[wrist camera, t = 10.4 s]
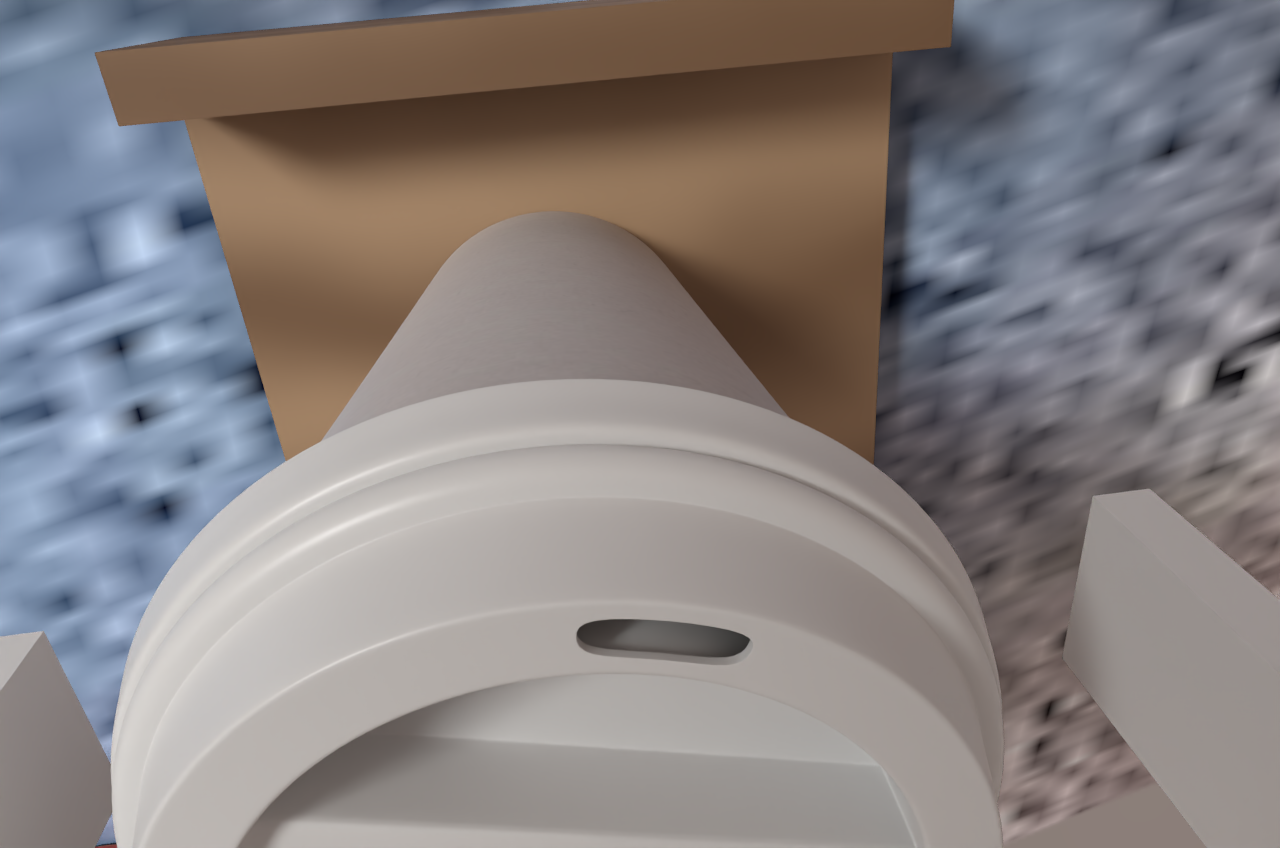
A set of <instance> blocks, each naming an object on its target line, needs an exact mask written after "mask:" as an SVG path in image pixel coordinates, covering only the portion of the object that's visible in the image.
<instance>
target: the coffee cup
mask: <svg viewBox="0 0 1280 848" xmlns="http://www.w3.org/2000/svg"><path fill="white" fill-rule="evenodd" d="M1003 763H1004V727H1003V718H1002V698H1001V689H1000V681H999V676H998V670H997V665H996V661H995V657H994V653H993V649H992V645H991V642H990V639H989V635H988V631H987V627H986V624H985V620H984V617H983V613H982V610H981V607H980V604H979V601H978V598H977V595H976V593H975V590H974V588H973V586H972V583H971V581H970V579H969V577H968V575H967V573H966V571H965V569H964V567H963V565H962V563H961V561H960V560H959V558H958V556H957V554H956V553H955V551H954V549H953V548H952V546H951V545H950V543H949V542H948V540H947V539H946V537H945V536H944V535H943V533H942V532H941V531H940V529H939V528H938V527H937V525H936V524H935V523H934V522H933V521H932V519H931V518H930V517H929V516H928V515H927V513H926V512H925V511H924V510H923V509H922V508H921V507H920V506H919V505H918V504H917V503H916V501H915V500H914V499H913V498H912V497H910V496H909V495H908V494H907V493H906V492H905V491H904V490H903V489H902V488H901V487H900V486H899V485H898V484H896V483H895V482H894V481H893V480H892V479H891V478H889V477H888V476H887V475H886V474H884V473H883V472H882V471H881V470H879V469H878V468H877V467H875V466H874V465H873V464H871V463H870V462H868V461H867V460H866V459H864V458H863V457H861V456H860V455H858V454H857V453H855V452H854V451H852V450H850V449H849V448H847V447H846V446H844V445H842V444H841V443H839V442H837V441H835V440H834V439H832V438H830V437H828V436H826V435H825V434H823V433H821V432H819V431H817V430H815V429H813V428H811V427H809V426H806V425H804V424H802V423H800V422H797V421H795V420H793V419H791V418H789V417H788V416H787V414H786V413H785V412H784V411H783V409H782V408H781V407H780V406H779V405H778V403H777V402H776V401H775V400H774V398H773V397H772V396H771V395H770V394H769V392H768V391H767V390H766V389H765V387H764V386H763V385H762V384H761V383H760V381H759V380H758V379H757V378H756V376H755V375H754V374H753V373H752V372H751V370H750V369H749V368H748V367H747V365H746V364H745V363H744V362H743V360H742V359H741V358H740V357H739V356H738V354H737V353H736V352H735V351H734V349H733V348H732V347H731V346H730V344H729V343H728V342H727V341H726V340H725V338H724V337H723V336H722V335H721V333H720V332H719V331H718V330H717V328H716V327H715V326H714V325H713V323H712V322H711V321H710V320H709V319H708V317H707V316H706V315H705V314H704V312H703V311H702V310H701V309H700V307H699V306H698V305H697V304H696V302H695V301H694V300H693V299H692V297H691V296H690V295H689V294H688V292H687V291H686V290H685V289H684V287H683V286H682V285H681V284H680V282H679V281H678V280H677V279H676V278H675V276H674V275H673V274H672V273H671V271H670V270H669V269H668V268H667V266H666V265H665V264H664V263H663V262H662V260H661V259H660V258H659V257H658V256H657V255H656V254H655V253H654V252H653V251H652V250H651V249H650V248H649V247H648V246H647V245H646V244H644V243H643V242H642V241H641V240H639V239H638V238H637V237H635V236H634V235H632V234H631V233H629V232H628V231H626V230H624V229H622V228H620V227H618V226H616V225H614V224H612V223H610V222H607V221H605V220H602V219H599V218H596V217H593V216H589V215H585V214H580V213H573V212H563V211H545V212H535V213H528V214H523V215H519V216H515V217H512V218H509V219H506V220H503V221H500V222H498V223H496V224H493V225H491V226H489V227H487V228H485V229H484V230H482V231H480V232H479V233H477V234H476V235H474V236H473V237H471V238H470V239H468V240H467V241H466V242H465V243H463V244H462V245H461V246H460V247H459V248H458V249H457V250H456V251H455V252H454V253H453V254H452V255H451V256H450V257H449V258H448V259H447V260H446V262H445V263H444V264H443V266H442V267H441V268H440V270H439V271H438V272H437V274H436V275H435V277H434V278H433V280H432V281H431V283H430V284H429V285H428V287H427V288H426V290H425V291H424V293H423V294H422V296H421V297H420V299H419V300H418V302H417V303H416V304H415V306H414V307H413V309H412V310H411V312H410V313H409V315H408V316H407V318H406V319H405V321H404V322H403V323H402V325H401V326H400V328H399V329H398V331H397V332H396V334H395V335H394V337H393V338H392V340H391V341H390V342H389V344H388V345H387V347H386V348H385V350H384V351H383V353H382V354H381V356H380V357H379V358H378V360H377V361H376V363H375V364H374V366H373V367H372V369H371V370H370V371H369V373H368V374H367V376H366V377H365V379H364V380H363V382H362V383H361V385H360V386H359V387H358V389H357V390H356V392H355V393H354V395H353V396H352V398H351V399H350V400H349V402H348V403H347V405H346V406H345V408H344V409H343V411H342V412H341V413H340V415H339V416H338V418H337V419H336V421H335V422H334V423H333V425H332V426H331V428H330V429H329V431H328V432H327V433H326V435H325V436H324V438H323V439H322V441H321V442H319V443H317V444H315V445H313V446H312V447H310V448H308V449H306V450H304V451H302V452H301V453H299V454H297V455H296V456H294V457H292V458H291V459H289V460H288V461H286V462H284V463H283V464H281V465H280V466H278V467H277V468H275V469H274V470H272V471H271V472H269V473H268V474H266V475H265V476H264V477H262V478H261V479H259V480H258V481H257V482H255V483H254V484H253V485H251V486H250V487H249V488H247V489H246V490H245V491H244V492H242V493H241V494H240V495H239V496H238V497H236V498H235V499H234V500H233V501H232V502H230V503H229V504H228V505H227V506H226V507H225V508H224V509H223V510H222V511H220V512H219V513H218V514H217V515H216V516H215V517H214V518H213V519H212V520H211V521H210V522H209V523H208V524H207V525H206V526H205V527H204V528H203V529H202V530H201V532H200V533H199V534H198V535H197V536H196V537H195V538H194V539H193V540H192V541H191V543H190V544H189V545H188V546H187V548H186V549H185V550H184V551H183V552H182V554H181V555H180V556H179V558H178V559H177V560H176V562H175V563H174V564H173V566H172V567H171V569H170V570H169V571H168V573H167V574H166V576H165V577H164V579H163V581H162V582H161V584H160V585H159V587H158V589H157V590H156V592H155V594H154V596H153V597H152V599H151V601H150V603H149V605H148V607H147V609H146V611H145V613H144V615H143V617H142V619H141V622H140V624H139V626H138V629H137V631H136V634H135V636H134V639H133V642H132V645H131V648H130V651H129V655H128V658H127V662H126V665H125V670H124V674H123V679H122V684H121V689H120V694H119V700H118V705H117V710H116V715H115V722H114V728H113V736H112V747H111V784H112V815H113V825H114V833H115V838H116V844H117V848H1003V836H1002V827H1001V820H1000V814H999V809H998V804H997V802H998V798H999V793H1000V787H1001V781H1002V773H1003Z"/></svg>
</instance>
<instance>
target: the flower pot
mask: <svg viewBox="0 0 1280 848" xmlns="http://www.w3.org/2000/svg"><path fill="white" fill-rule="evenodd" d="M95 848H117V844H112V845H104V846H97V847H95Z"/></svg>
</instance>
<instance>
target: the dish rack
mask: <svg viewBox="0 0 1280 848" xmlns="http://www.w3.org/2000/svg"><path fill="white" fill-rule="evenodd" d="M953 10H954V0H588V1H577V2H566V3H555V4H544V5H533V6H522V7H511V8H499V9H488V10H477V11H466V12H455V13H444V14H433V15H422V16H411V17H400V18H389V19H378V20H367V21H356V22H345V23H334V24H323V25H312V26H301V27H290V28H278V29H267V30H256V31H245V32H234V33H223V34H212V35H201V36H190V37H181V38H175V39H169V40H164V41H158V42H152V43H146V44H141V45H135V46H129V47H124V48H118V49H112V50H107V51H101V52H95V56H96V59H97V62H98V65H99V68H100V71H101V74H102V77H103V80H104V83H105V86H106V89H107V92H108V95H109V98H110V101H111V104H112V107H113V110H114V113H115V116H116V119H117V122H118V125H119V126H127V125H137V124H148V123H158V122H169V121H179V120H185V124H186V127H187V130H188V134H189V137H190V140H191V144H192V147H193V150H194V154H195V157H196V161H197V164H198V167H199V171H200V174H201V177H202V181H203V184H204V187H205V191H206V194H207V197H208V201H209V204H210V208H211V211H212V214H213V218H214V221H215V224H216V228H217V231H218V234H219V238H220V241H221V245H222V248H223V251H224V255H225V258H226V261H227V265H228V268H229V271H230V275H231V278H232V281H233V285H234V288H235V292H236V295H237V298H238V302H239V305H240V308H241V312H242V315H243V318H244V322H245V325H246V329H247V332H248V335H249V339H250V342H251V345H252V349H253V352H254V355H255V359H256V362H257V365H258V369H259V372H260V376H261V379H262V382H263V386H264V389H265V392H266V396H267V399H268V402H269V406H270V409H271V412H272V416H273V419H274V423H275V426H276V429H277V433H278V436H279V439H280V443H281V446H282V449H283V453H284V456H285V460H286V461H288V460H289V459H291V458H292V457H294V456H296V455H297V454H299V453H301V452H302V451H304V450H306V449H308V448H310V447H312V446H313V445H315V444H317V443H319V442H321V441H322V439H323V438H324V436H325V435H326V433H327V432H328V431H329V429H330V428H331V426H332V425H333V423H334V422H335V421H336V419H337V418H338V416H339V415H340V413H341V412H342V411H343V409H344V408H345V406H346V405H347V403H348V402H349V400H350V399H351V398H352V396H353V395H354V393H355V392H356V390H357V389H358V387H359V386H360V385H361V383H362V382H363V380H364V379H365V377H366V376H367V374H368V373H369V371H370V370H371V369H372V367H373V366H374V364H375V363H376V361H377V360H378V358H379V357H380V356H381V354H382V353H383V351H384V350H385V348H386V347H387V345H388V344H389V342H390V341H391V340H392V338H393V337H394V335H395V334H396V332H397V331H398V329H399V328H400V326H401V325H402V323H403V322H404V321H405V319H406V318H407V316H408V315H409V313H410V312H411V310H412V309H413V307H414V306H415V304H416V303H417V302H418V300H419V299H420V297H421V296H422V294H423V293H424V291H425V290H426V288H427V287H428V285H429V284H430V283H431V281H432V280H433V278H434V277H435V275H436V274H437V272H438V271H439V270H440V268H441V267H442V266H443V264H444V263H445V262H446V260H447V259H448V258H449V257H450V256H451V255H452V254H453V253H454V252H455V251H456V250H457V249H458V248H459V247H460V246H461V245H462V244H463V243H465V242H466V241H467V240H468V239H470V238H471V237H473V236H474V235H476V234H477V233H479V232H480V231H482V230H484V229H485V228H487V227H489V226H491V225H493V224H496V223H498V222H500V221H503V220H506V219H509V218H512V217H515V216H519V215H523V214H528V213H535V212H545V211H563V212H573V213H580V214H585V215H589V216H593V217H596V218H599V219H602V220H605V221H607V222H610V223H612V224H614V225H616V226H618V227H620V228H622V229H624V230H626V231H628V232H629V233H631V234H632V235H634V236H635V237H637V238H638V239H639V240H641V241H642V242H643V243H644V244H646V245H647V246H648V247H649V248H650V249H651V250H652V251H653V252H654V253H655V254H656V255H657V256H658V257H659V258H660V259H661V260H662V262H663V263H664V264H665V265H666V266H667V268H668V269H669V270H670V271H671V273H672V274H673V275H674V276H675V278H676V279H677V280H678V281H679V282H680V284H681V285H682V286H683V287H684V289H685V290H686V291H687V292H688V294H689V295H690V296H691V297H692V299H693V300H694V301H695V302H696V304H697V305H698V306H699V307H700V309H701V310H702V311H703V312H704V314H705V315H706V316H707V317H708V319H709V320H710V321H711V322H712V323H713V325H714V326H715V327H716V328H717V330H718V331H719V332H720V333H721V335H722V336H723V337H724V338H725V340H726V341H727V342H728V343H729V344H730V346H731V347H732V348H733V349H734V351H735V352H736V353H737V354H738V356H739V357H740V358H741V359H742V360H743V362H744V363H745V364H746V365H747V367H748V368H749V369H750V370H751V372H752V373H753V374H754V375H755V376H756V378H757V379H758V380H759V381H760V383H761V384H762V385H763V386H764V387H765V389H766V390H767V391H768V392H769V394H770V395H771V396H772V397H773V398H774V400H775V401H776V402H777V403H778V405H779V406H780V407H781V408H782V409H783V411H784V412H785V413H786V414H787V416H788V417H789V418H791V419H793V420H795V421H797V422H800V423H802V424H804V425H806V426H809V427H811V428H813V429H815V430H817V431H819V432H821V433H823V434H825V435H826V436H828V437H830V438H832V439H834V440H835V441H837V442H839V443H841V444H842V445H844V446H846V447H847V448H849V449H850V450H852V451H854V452H855V453H857V454H858V455H860V456H861V457H863V458H864V459H866V460H867V461H868V462H870V463H871V464H873V465H874V445H875V424H876V402H877V380H878V359H879V337H880V315H881V294H882V272H883V251H884V229H885V207H886V186H887V164H888V142H889V121H890V99H891V78H892V56H893V52H902V51H912V50H923V49H933V48H944V47H951V37H952V24H953Z"/></svg>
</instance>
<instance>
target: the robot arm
mask: <svg viewBox="0 0 1280 848" xmlns="http://www.w3.org/2000/svg"><path fill="white" fill-rule="evenodd" d="M1062 659H1063V660H1064V661H1065V662H1066V664H1067V665H1068V666H1069V668H1070V669H1071V670H1072V672H1073V673H1074V674H1075V676H1076V677H1077V678H1078V680H1079V681H1080V682H1081V683H1082V685H1083V686H1084V687H1085V689H1086V690H1087V691H1088V693H1089V694H1090V695H1091V697H1092V698H1093V699H1094V701H1095V702H1096V703H1097V705H1098V706H1099V707H1100V708H1101V710H1102V711H1103V712H1104V714H1105V715H1106V716H1107V718H1108V719H1109V720H1110V722H1111V723H1112V724H1113V726H1114V727H1115V728H1116V729H1117V731H1118V732H1119V733H1120V735H1121V736H1122V737H1123V739H1124V740H1125V741H1126V743H1127V744H1128V745H1129V747H1130V748H1131V749H1132V750H1133V752H1134V753H1135V754H1136V756H1137V757H1138V758H1139V760H1140V761H1141V762H1142V764H1143V765H1144V766H1145V768H1146V769H1147V770H1148V772H1149V773H1150V774H1151V775H1152V777H1153V778H1154V779H1155V781H1156V782H1157V783H1158V785H1159V786H1160V787H1161V789H1162V790H1163V791H1164V793H1165V794H1166V795H1167V796H1168V798H1169V799H1170V800H1171V802H1172V803H1173V804H1174V806H1175V807H1176V808H1177V810H1178V811H1179V812H1180V813H1181V815H1182V816H1183V817H1184V819H1185V820H1186V821H1187V823H1188V824H1189V825H1190V827H1191V828H1192V829H1193V830H1194V832H1195V833H1196V835H1197V836H1198V837H1199V838H1200V840H1201V841H1202V842H1203V844H1204V845H1205V846H1206V848H1280V600H1279V599H1278V598H1277V597H1276V596H1274V595H1273V594H1272V593H1271V592H1270V591H1269V590H1267V589H1266V588H1265V587H1264V586H1263V585H1262V584H1260V583H1259V582H1258V581H1257V580H1256V579H1255V578H1253V577H1252V576H1251V575H1250V574H1249V573H1248V572H1246V571H1245V570H1244V569H1243V568H1242V567H1241V566H1239V565H1238V564H1237V563H1236V562H1235V561H1234V560H1232V559H1231V558H1230V557H1229V556H1228V555H1227V554H1225V553H1224V552H1223V551H1222V550H1221V549H1220V548H1218V547H1217V546H1216V545H1215V544H1214V543H1213V542H1211V541H1210V540H1209V539H1208V538H1207V537H1206V536H1204V535H1203V534H1202V533H1201V532H1200V531H1199V530H1197V529H1196V528H1195V527H1194V526H1193V525H1191V524H1190V523H1189V522H1188V521H1187V520H1186V519H1184V518H1183V517H1182V516H1181V515H1180V514H1179V513H1177V512H1176V511H1175V510H1174V509H1173V508H1172V507H1170V506H1169V505H1168V504H1167V503H1166V502H1165V501H1163V500H1162V499H1161V498H1160V497H1159V496H1158V495H1156V494H1155V493H1154V492H1153V491H1152V490H1151V489H1143V490H1135V491H1127V492H1119V493H1112V494H1104V495H1096V496H1093V497H1092V503H1091V508H1090V513H1089V518H1088V524H1087V529H1086V534H1085V540H1084V545H1083V550H1082V555H1081V561H1080V566H1079V571H1078V576H1077V582H1076V587H1075V592H1074V598H1073V603H1072V608H1071V613H1070V619H1069V624H1068V629H1067V635H1066V640H1065V645H1064V650H1063V656H1062ZM111 813H112V784H111V764H110V762H109V760H108V758H107V756H106V754H105V752H104V750H103V748H102V746H101V744H100V742H99V740H98V738H97V736H96V734H95V732H94V730H93V728H92V726H91V724H90V722H89V720H88V718H87V716H86V714H85V712H84V710H83V708H82V706H81V704H80V702H79V700H78V698H77V696H76V694H75V693H74V691H73V689H72V687H71V685H70V683H69V681H68V679H67V677H66V675H65V673H64V671H63V669H62V667H61V665H60V663H59V661H58V659H57V657H56V655H55V653H54V651H53V649H52V647H51V645H50V643H49V641H48V639H47V637H46V635H45V633H44V631H41V632H33V633H25V634H18V635H10V636H2V637H0V848H95V846H96V844H97V842H98V840H99V838H100V836H101V834H102V832H103V830H104V828H105V826H106V824H107V822H108V820H109V818H110V816H111Z"/></svg>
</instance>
